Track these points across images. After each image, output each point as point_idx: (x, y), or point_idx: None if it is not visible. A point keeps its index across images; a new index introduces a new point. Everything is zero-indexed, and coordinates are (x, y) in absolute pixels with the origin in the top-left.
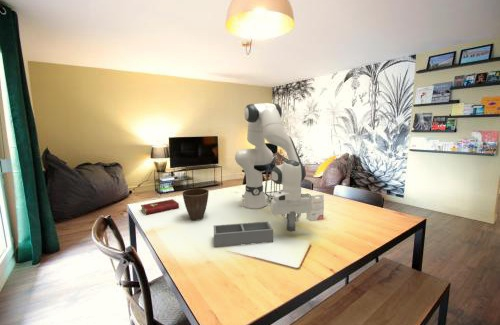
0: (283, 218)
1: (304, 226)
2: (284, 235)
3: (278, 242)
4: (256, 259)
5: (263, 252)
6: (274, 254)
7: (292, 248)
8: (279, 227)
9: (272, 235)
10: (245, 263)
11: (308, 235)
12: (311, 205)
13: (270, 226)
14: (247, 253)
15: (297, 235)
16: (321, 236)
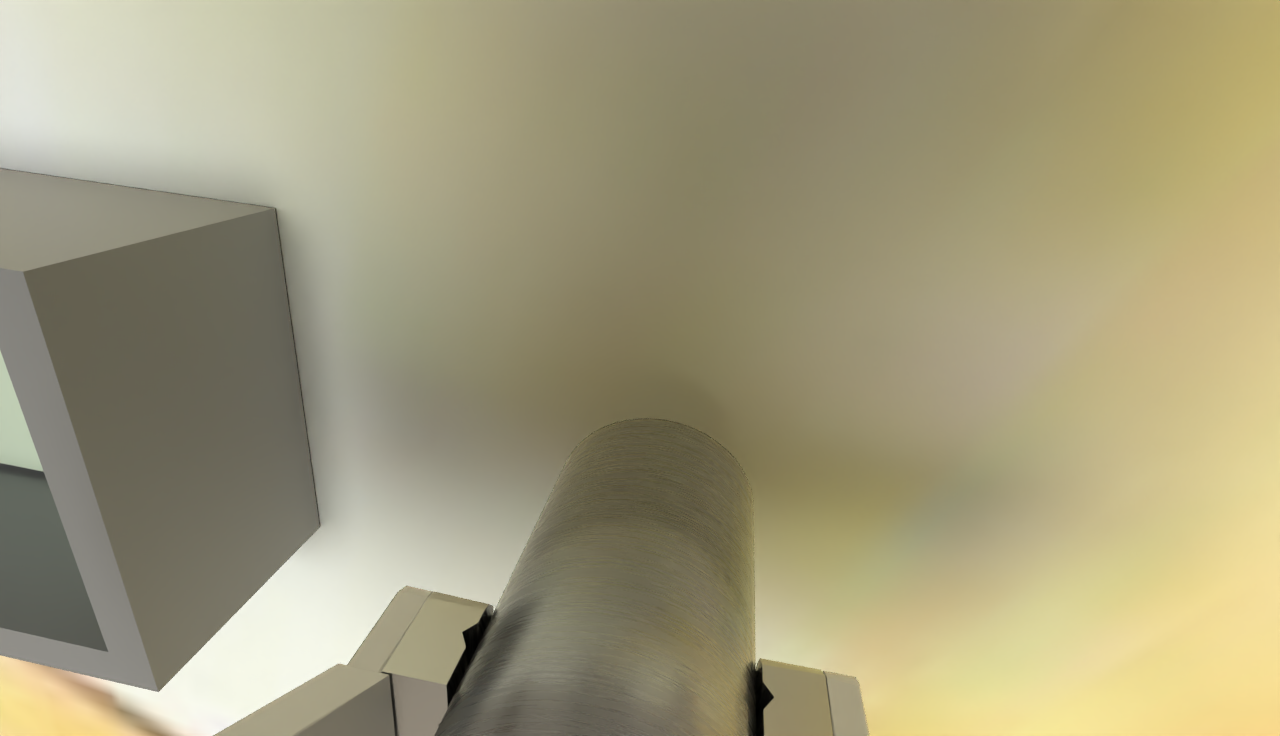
0: (354, 655)
1: (1273, 163)
2: (551, 415)
3: (392, 562)
4: (123, 724)
5: (186, 665)
6: None
7: None
8: (589, 13)
9: (236, 599)
10: (36, 730)
11: (970, 561)
12: None
13: (106, 566)
14: None
15: (777, 494)
16: (1163, 663)
